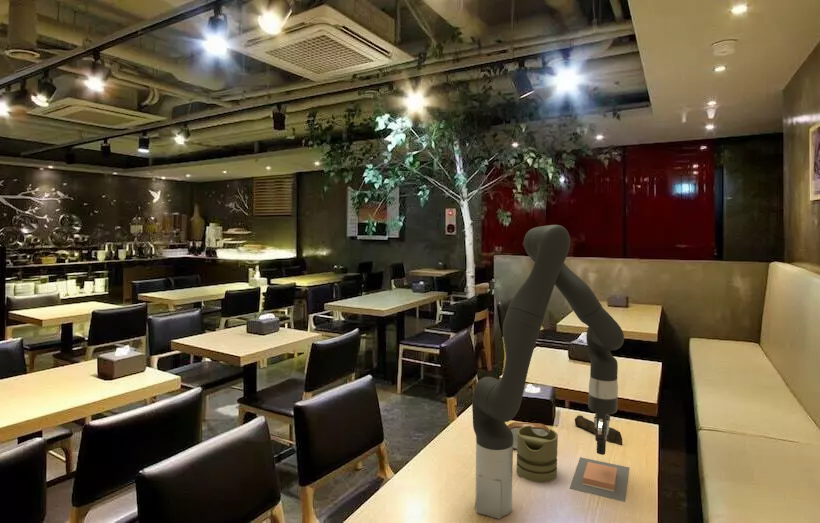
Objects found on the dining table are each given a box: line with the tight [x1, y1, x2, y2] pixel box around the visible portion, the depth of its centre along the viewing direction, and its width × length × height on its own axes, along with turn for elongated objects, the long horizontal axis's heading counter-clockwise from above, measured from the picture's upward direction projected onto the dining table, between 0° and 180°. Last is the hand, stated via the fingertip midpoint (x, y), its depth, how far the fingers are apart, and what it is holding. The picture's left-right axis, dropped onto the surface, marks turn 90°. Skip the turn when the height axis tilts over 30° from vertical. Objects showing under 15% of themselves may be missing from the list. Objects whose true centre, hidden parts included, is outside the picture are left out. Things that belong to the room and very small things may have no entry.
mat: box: [569, 456, 631, 503], centre depth 140 cm, size 20×14×1 cm
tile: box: [583, 462, 617, 492], centre depth 139 cm, size 2×8×10 cm
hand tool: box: [574, 414, 623, 446], centre depth 168 cm, size 19×4×5 cm, turn 24°
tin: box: [507, 421, 550, 451], centre depth 158 cm, size 15×3×8 cm, turn 84°
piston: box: [516, 425, 559, 483], centre depth 143 cm, size 11×12×11 cm
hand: (601, 453), depth 139 cm, fingers closed
